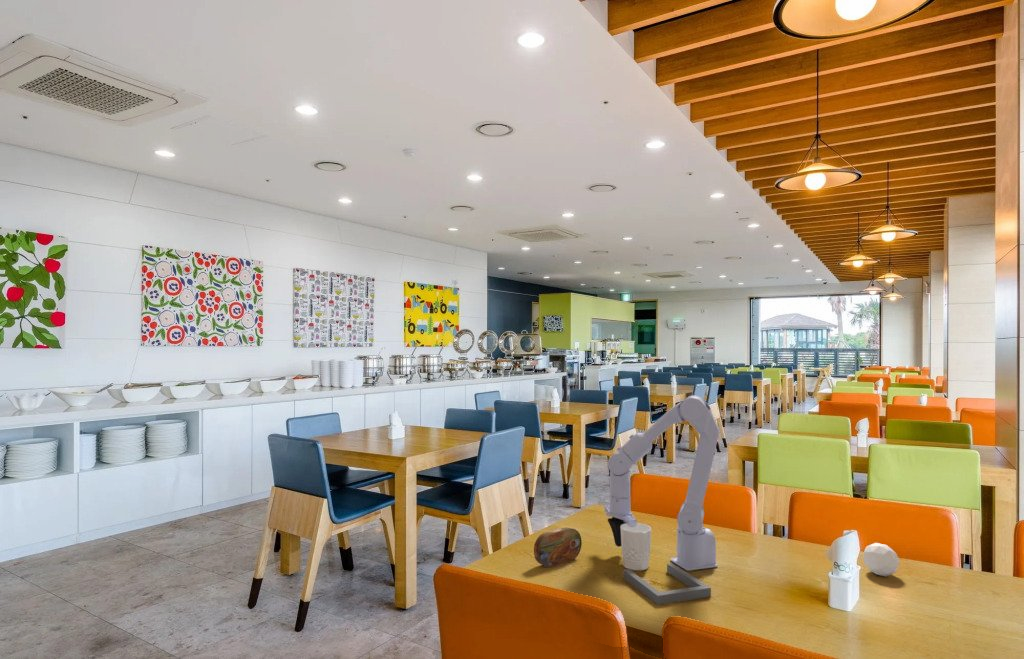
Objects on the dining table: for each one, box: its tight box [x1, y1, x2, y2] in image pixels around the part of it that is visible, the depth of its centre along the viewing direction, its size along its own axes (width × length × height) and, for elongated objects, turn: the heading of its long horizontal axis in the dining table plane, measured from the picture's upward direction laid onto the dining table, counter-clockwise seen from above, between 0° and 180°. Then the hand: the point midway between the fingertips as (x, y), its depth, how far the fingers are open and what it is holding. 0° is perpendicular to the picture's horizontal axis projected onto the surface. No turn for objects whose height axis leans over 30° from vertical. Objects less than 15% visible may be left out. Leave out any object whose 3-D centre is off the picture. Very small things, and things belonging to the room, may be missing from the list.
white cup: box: [620, 522, 652, 571], centre depth 150 cm, size 8×8×10 cm
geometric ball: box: [862, 542, 900, 577], centre depth 145 cm, size 8×8×8 cm
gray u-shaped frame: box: [622, 562, 712, 606], centre depth 137 cm, size 14×16×2 cm
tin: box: [533, 527, 583, 568], centre depth 152 cm, size 15×3×8 cm, turn 126°
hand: (620, 545), depth 158 cm, fingers closed
